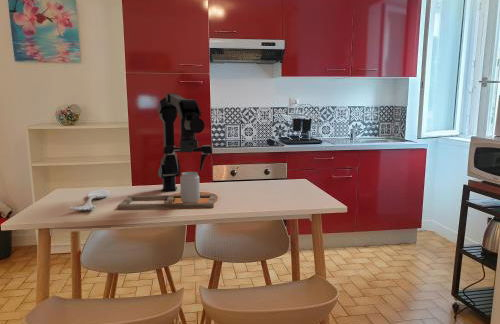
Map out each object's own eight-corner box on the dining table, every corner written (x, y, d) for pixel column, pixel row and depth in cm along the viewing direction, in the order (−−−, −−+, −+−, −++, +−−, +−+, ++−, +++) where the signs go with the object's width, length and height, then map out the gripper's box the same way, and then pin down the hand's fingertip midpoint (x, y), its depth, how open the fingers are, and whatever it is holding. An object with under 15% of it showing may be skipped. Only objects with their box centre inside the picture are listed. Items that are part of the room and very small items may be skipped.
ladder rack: (129, 199, 162) (128, 195, 162) (215, 197, 164) (215, 194, 163) (117, 209, 147) (117, 205, 146) (213, 207, 148) (213, 204, 148)
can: (201, 200, 159) (201, 171, 157) (197, 204, 151) (196, 174, 149) (184, 199, 160) (183, 170, 158) (178, 204, 152) (177, 174, 150)
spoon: (69, 215, 140) (68, 206, 139) (90, 195, 171) (90, 187, 171) (95, 214, 141) (95, 205, 141) (111, 194, 172) (111, 186, 172)
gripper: (159, 133, 143) (161, 175, 146) (210, 133, 144) (211, 174, 146) (165, 131, 154) (166, 170, 157) (212, 130, 155) (213, 169, 157)
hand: (189, 171), depth 154 cm, fingers open, 9 cm apart
